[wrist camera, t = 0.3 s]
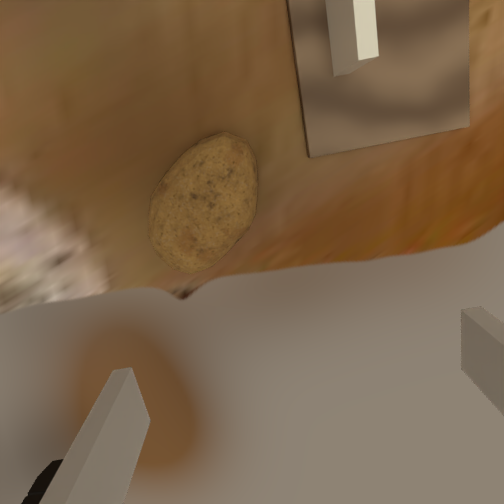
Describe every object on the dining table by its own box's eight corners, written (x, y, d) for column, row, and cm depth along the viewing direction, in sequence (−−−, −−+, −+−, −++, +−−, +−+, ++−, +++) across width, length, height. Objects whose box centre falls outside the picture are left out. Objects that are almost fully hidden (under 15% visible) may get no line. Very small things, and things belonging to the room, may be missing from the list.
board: (272, -102, 31) (273, -111, 30) (459, -146, 30) (468, -157, 29) (308, 157, 38) (310, 158, 37) (462, 126, 37) (469, 126, 36)
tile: (323, -21, 32) (346, -70, 24) (341, -26, 32) (371, -76, 24) (333, 76, 34) (358, 60, 27) (351, 73, 34) (380, 55, 27)
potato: (282, 160, 38) (291, 167, 30) (219, 269, 42) (213, 300, 34) (199, 111, 36) (186, 105, 29) (141, 229, 40) (117, 252, 32)
